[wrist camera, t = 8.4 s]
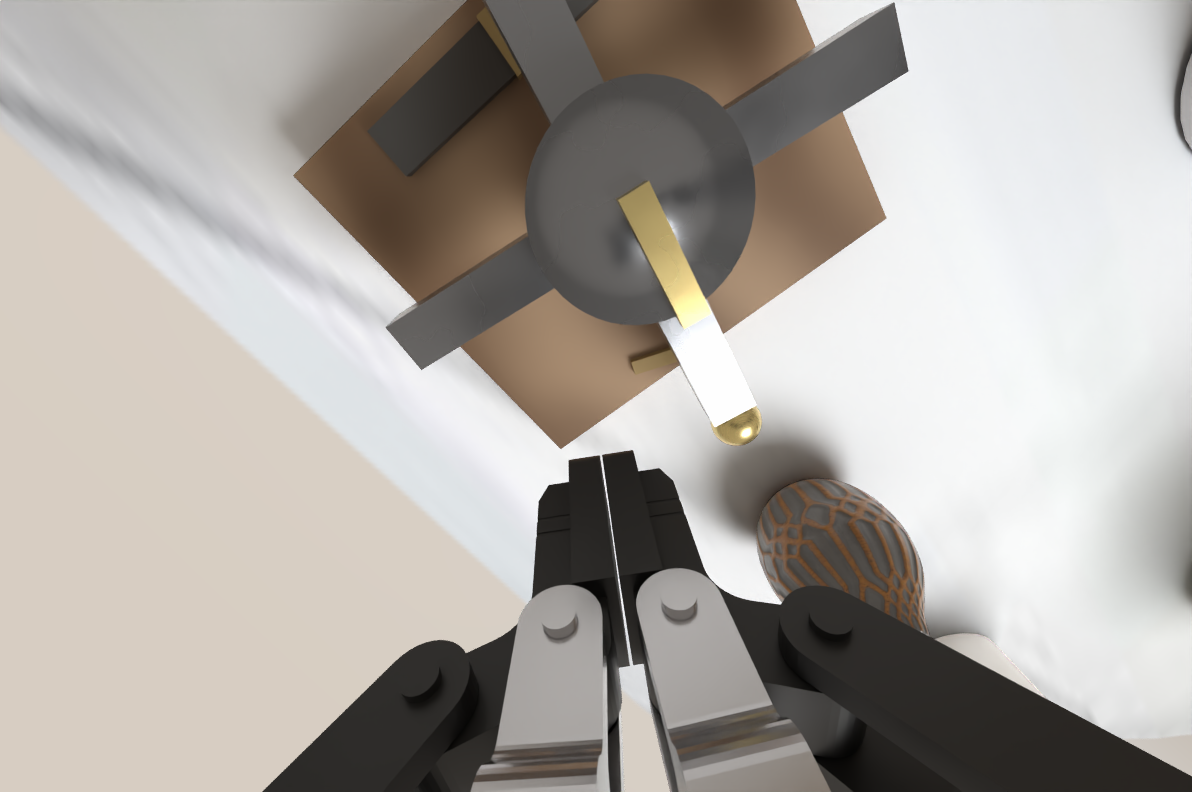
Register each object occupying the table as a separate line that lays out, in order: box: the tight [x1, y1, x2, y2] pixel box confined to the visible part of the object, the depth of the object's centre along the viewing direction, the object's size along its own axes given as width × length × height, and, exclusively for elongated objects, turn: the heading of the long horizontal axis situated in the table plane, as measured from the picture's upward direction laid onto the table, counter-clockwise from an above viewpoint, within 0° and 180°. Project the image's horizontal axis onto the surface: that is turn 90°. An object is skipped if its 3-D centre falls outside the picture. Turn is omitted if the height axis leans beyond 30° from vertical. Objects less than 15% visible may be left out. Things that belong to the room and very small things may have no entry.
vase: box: [756, 479, 930, 637], centre depth 23 cm, size 7×7×9 cm
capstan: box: [386, 0, 908, 446], centre depth 14 cm, size 17×16×6 cm
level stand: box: [293, 0, 886, 449], centre depth 17 cm, size 16×14×3 cm
